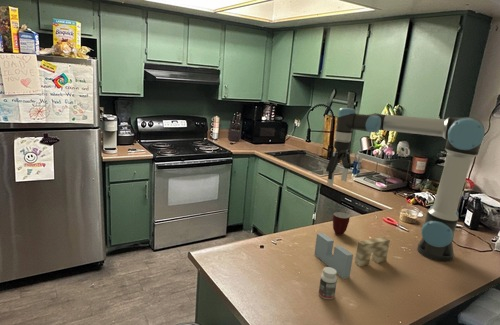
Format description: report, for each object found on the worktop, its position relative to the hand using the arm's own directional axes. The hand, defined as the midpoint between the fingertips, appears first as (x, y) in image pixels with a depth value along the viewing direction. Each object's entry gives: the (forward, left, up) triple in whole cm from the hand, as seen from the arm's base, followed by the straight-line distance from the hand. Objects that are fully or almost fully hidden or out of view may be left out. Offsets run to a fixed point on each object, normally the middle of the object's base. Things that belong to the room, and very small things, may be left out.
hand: (336, 183), depth 171 cm
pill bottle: (-20, +52, -27) cm, 62 cm away
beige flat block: (-25, +16, -27) cm, 40 cm away
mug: (-4, -1, -27) cm, 27 cm away
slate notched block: (-13, +31, -27) cm, 43 cm away
